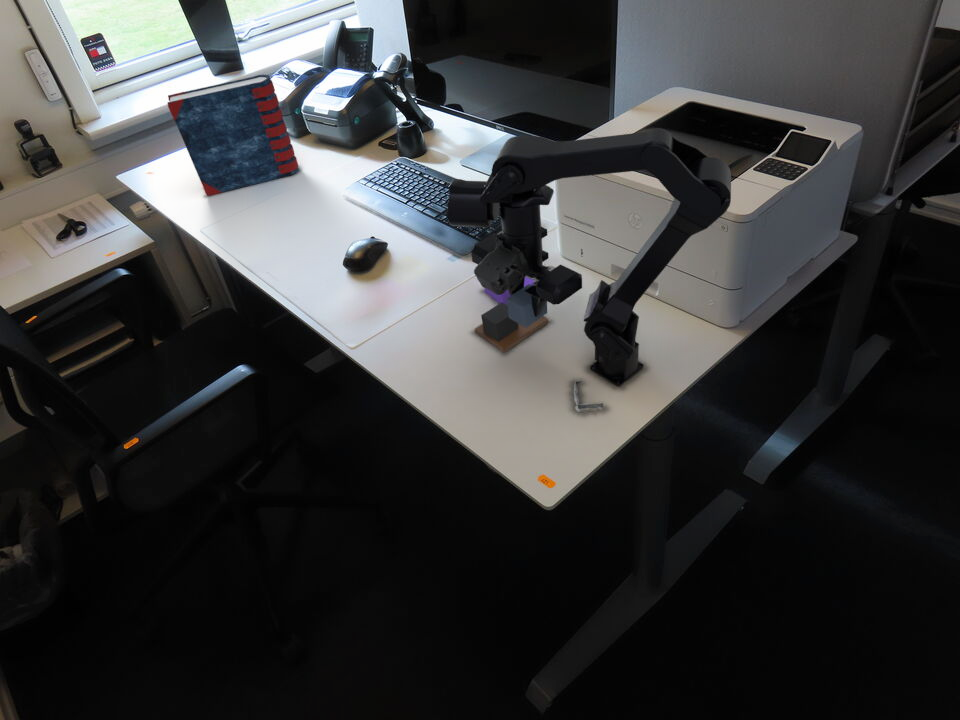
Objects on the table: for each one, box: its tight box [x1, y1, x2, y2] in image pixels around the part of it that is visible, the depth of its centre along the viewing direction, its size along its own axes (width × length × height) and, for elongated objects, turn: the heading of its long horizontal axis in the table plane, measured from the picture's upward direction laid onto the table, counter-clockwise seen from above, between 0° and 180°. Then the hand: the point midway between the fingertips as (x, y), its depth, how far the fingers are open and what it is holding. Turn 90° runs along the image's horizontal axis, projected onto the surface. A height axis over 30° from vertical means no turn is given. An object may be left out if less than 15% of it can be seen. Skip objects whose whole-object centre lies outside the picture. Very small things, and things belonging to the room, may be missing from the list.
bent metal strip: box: [572, 379, 604, 413], centre depth 107 cm, size 7×1×5 cm
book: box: [167, 74, 300, 197], centre depth 172 cm, size 25×7×25 cm, turn 108°
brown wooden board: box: [474, 315, 549, 353], centre depth 122 cm, size 8×11×1 cm
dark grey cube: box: [480, 302, 519, 342], centre depth 119 cm, size 4×5×4 cm
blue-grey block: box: [507, 284, 548, 328], centre depth 107 cm, size 4×5×4 cm
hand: (528, 310), depth 108 cm, fingers closed on blue-grey block, 4 cm apart
